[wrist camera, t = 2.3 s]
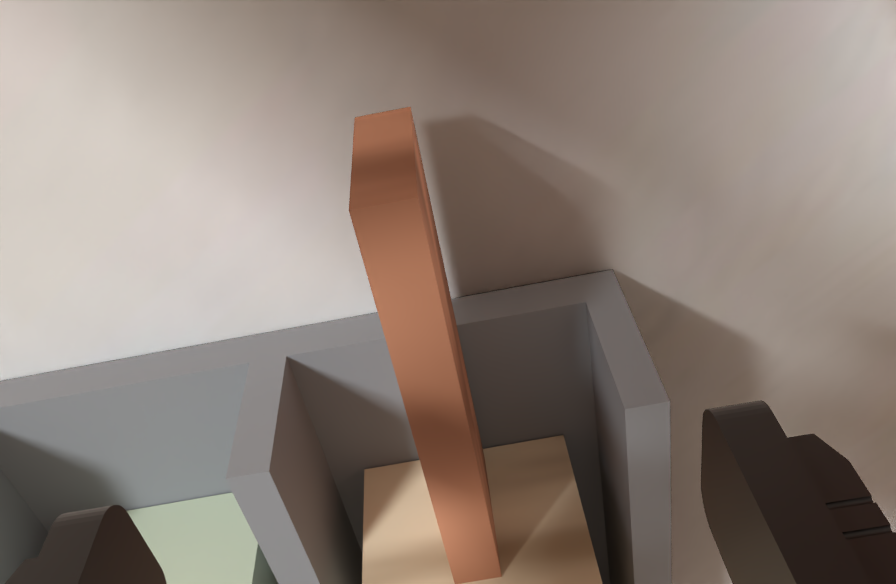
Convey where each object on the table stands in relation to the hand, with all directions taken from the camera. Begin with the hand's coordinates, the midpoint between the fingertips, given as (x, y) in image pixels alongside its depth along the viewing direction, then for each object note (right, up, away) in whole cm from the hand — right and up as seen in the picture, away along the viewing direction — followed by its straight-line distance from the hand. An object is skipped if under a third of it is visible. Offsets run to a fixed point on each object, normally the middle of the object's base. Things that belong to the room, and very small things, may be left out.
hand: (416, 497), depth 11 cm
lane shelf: (-3, -5, +16) cm, 16 cm away
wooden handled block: (+1, -1, +12) cm, 12 cm away
